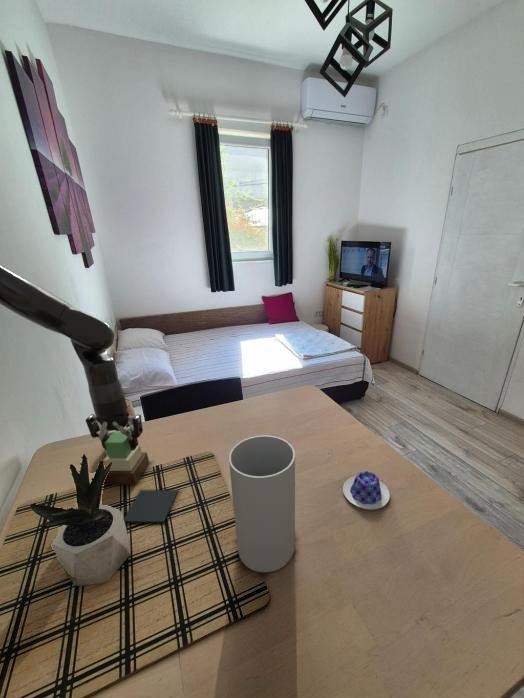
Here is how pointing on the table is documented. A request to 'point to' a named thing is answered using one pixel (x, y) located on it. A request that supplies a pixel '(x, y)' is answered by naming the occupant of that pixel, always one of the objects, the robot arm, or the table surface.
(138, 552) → the table surface
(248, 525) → the cylinder vase
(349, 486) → the pudding
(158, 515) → the rubber mat
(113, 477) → the walnut block
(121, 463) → the cream block
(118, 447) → the green cube
